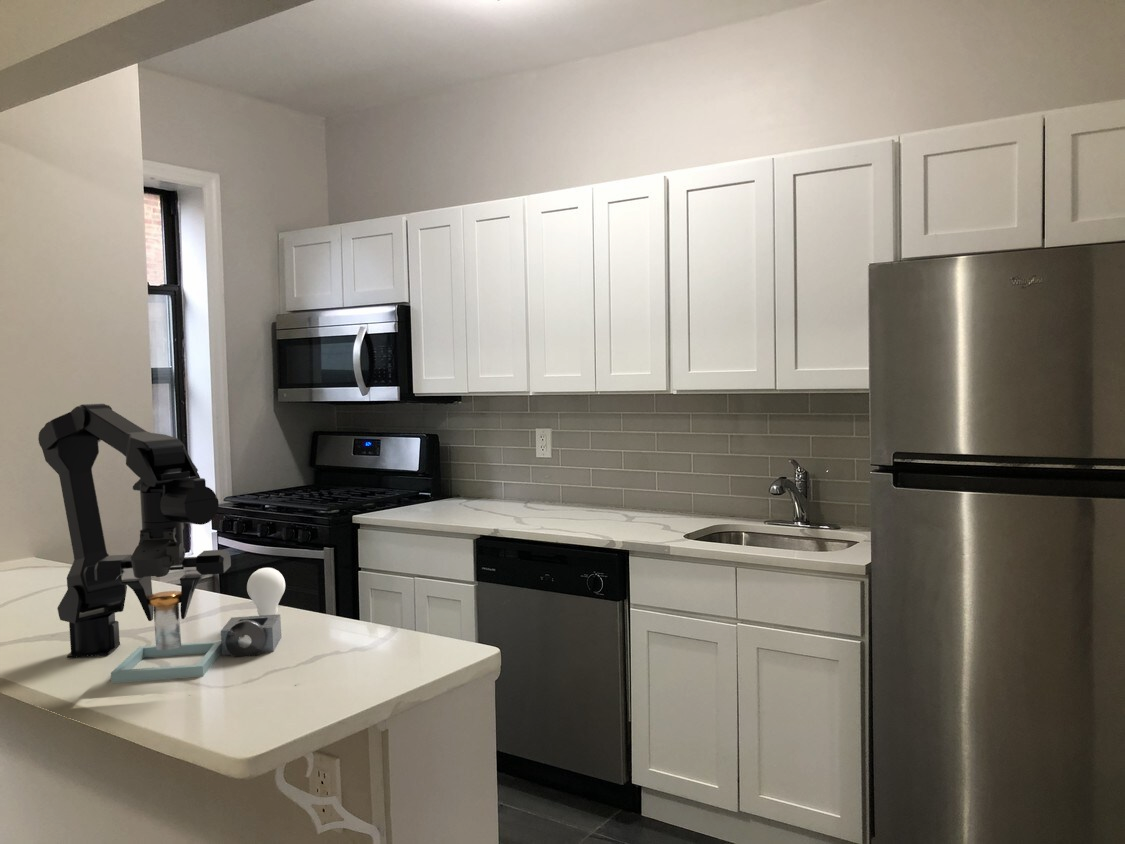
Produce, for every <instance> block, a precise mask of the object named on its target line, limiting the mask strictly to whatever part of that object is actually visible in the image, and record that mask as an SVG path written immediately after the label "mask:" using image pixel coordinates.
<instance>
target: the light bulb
mask: <svg viewBox="0 0 1125 844" xmlns="http://www.w3.org/2000/svg"><path fill="white" fill-rule="evenodd" d="M285 590H286V581H285V578H284V576H283V574H282V573H281V572H280V571H279V570H277V569H275V568H273V567H262V568H258V569H257V570H256V571H253V573H252V574H251V575H250V576H249V578H248V581H247V584H246V591H247V594H248V596H249V598H250V599H251V601H252V602H253V604H254V605H255V608H256V609H257V611H256V612H257V616H263V615H277V613H278V608H279V607H278V606H279V603H280V601H281V599H282V597H283V595H284V593H285Z"/></svg>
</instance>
